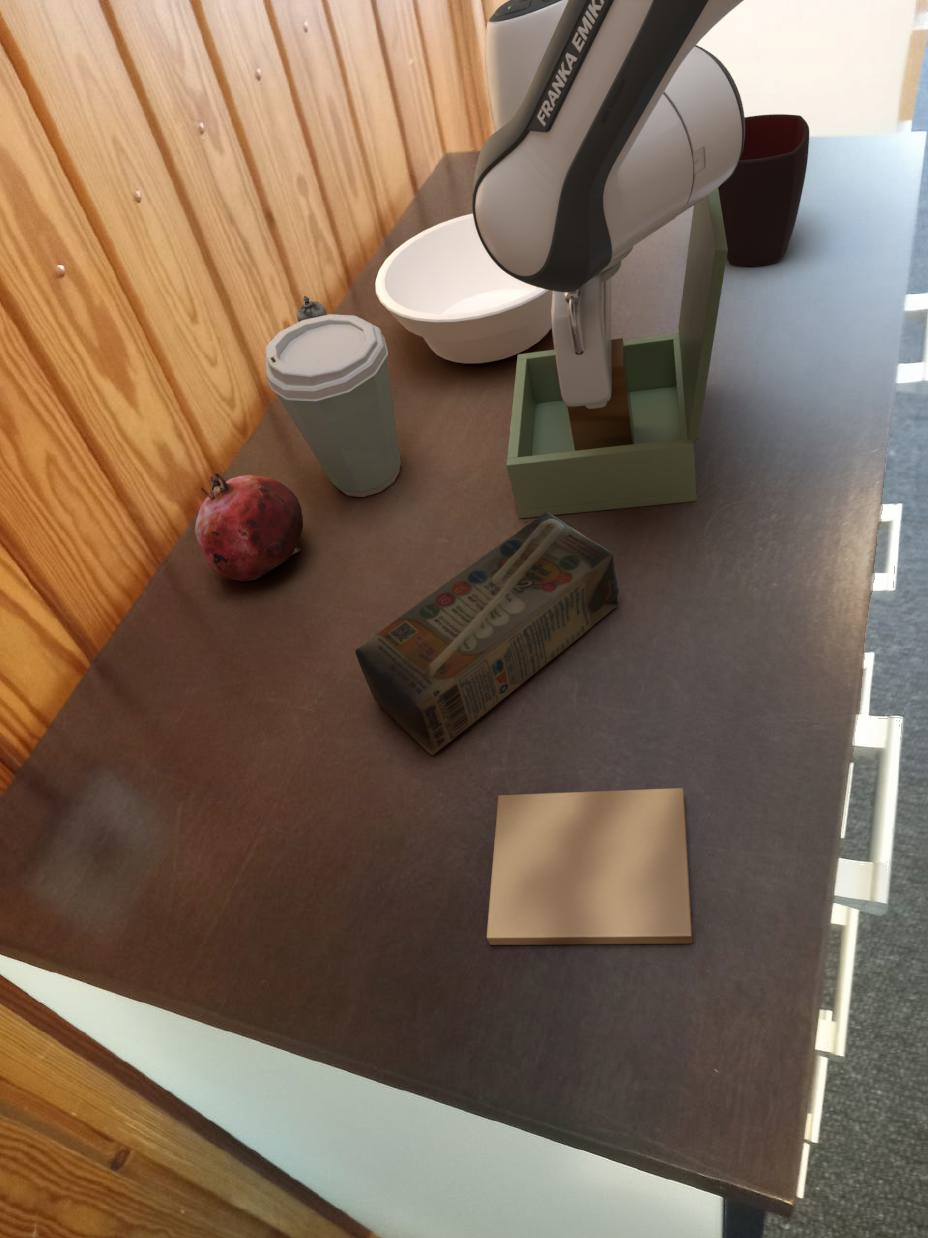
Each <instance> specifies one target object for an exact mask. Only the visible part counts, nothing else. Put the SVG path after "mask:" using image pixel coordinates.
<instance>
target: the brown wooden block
mask: <svg viewBox="0 0 928 1238" xmlns="http://www.w3.org/2000/svg"><path fill="white" fill-rule="evenodd" d="M623 340H624V338H622V337H621V338H613V339H612V392H611V398H610V400H609V401H607V404H606V406H605V407H602V408H593V409H589V408H587V407H586V406H575V407H570V406H567V408H568V414H569V420H570V425H571V431H572V437H573V443H574V448H575V451H579V450H588V449H596V448H605V447H614V446H623V445H632V444H634V425H633V417H632V408H631V400H630V392H629V384H628V375H627V367H626V359H625V350H624V342H623Z"/></svg>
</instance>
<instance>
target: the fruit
mask: <svg viewBox="0 0 928 1238" xmlns="http://www.w3.org/2000/svg"><path fill="white" fill-rule="evenodd" d="M214 475H215V477H214V476H212V475H211V476H210V477H209V479H210V493H209V492H208V491H207V490H206V489H205V488H204V487H202V486H201V487H200V490H201V491H202V493H204V494H205V496H207V497H206V498H205V499H204V500H203V502H202V503H201V505H200V508H199V511H198V514H197V517H196V521H195V526H194V535H195V538H196V541H197V544H198V546H199V548H200V550H201V553H202V554H203V557H204V558H205V561H206V563H207V564H208V565H209V567H210V569H211V570H212V571H213V572H214V573H216V574H217V575H219V576H221V577H223V578H225V579H230V580H235V581H241V582H248V581H250V582H251V581H255V580H258V579H259V578H261V577H263V576H265V575H266V574H267V573H270V571H272V570H274V569H275V568H277V567H278V566H280V565H281V564H283V563H285V562H287V560H289V558H291V557H292V555H294V554H296V553H298V552H301V550H302V548H299V547H298V544H299V541H300V538H301V534H302V531H303V527H304V516H303V511H302V507H301V504H300V501H299V500H298V498H297V496H296V494H295V493H294V492H293V491H292V490H291V489H290V488H289V487H288V486H287V485H285V484H283V483H282V482H280V481H278V480H277V479H274V478H271V477H267V476H261V475H254V474H244V475H239V476H236V477H232V478H229V479H228V480H227V481H226V479H224V478H223V476H222V475H221V474H219V472H217V471H214Z"/></svg>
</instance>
